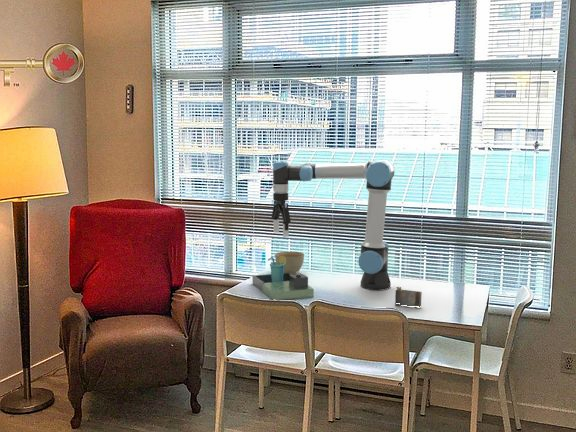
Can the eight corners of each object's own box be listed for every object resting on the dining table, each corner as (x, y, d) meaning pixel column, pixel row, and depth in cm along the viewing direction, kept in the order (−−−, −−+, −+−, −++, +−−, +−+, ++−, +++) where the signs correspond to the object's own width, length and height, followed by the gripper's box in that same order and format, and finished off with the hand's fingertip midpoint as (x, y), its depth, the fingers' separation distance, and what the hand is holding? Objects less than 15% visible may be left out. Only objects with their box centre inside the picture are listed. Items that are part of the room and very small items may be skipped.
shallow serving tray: (313, 296, 308) (313, 274, 306) (274, 300, 301) (274, 277, 299) (289, 280, 338) (289, 260, 337) (252, 283, 331) (252, 263, 330)
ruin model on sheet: (394, 307, 294) (395, 286, 292) (396, 305, 296) (396, 284, 295) (419, 310, 289) (420, 288, 288) (421, 308, 292) (421, 287, 291)
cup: (274, 288, 319) (274, 258, 317) (262, 286, 323) (262, 257, 321) (290, 282, 331) (290, 254, 329) (277, 280, 335) (277, 252, 333)
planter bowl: (307, 271, 360) (307, 252, 358) (299, 278, 344) (299, 258, 343) (280, 269, 365) (280, 250, 363) (270, 275, 349) (270, 255, 348)
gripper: (265, 190, 331) (265, 231, 335) (282, 195, 308) (282, 239, 312) (279, 189, 334) (279, 230, 337) (297, 194, 311) (297, 238, 314)
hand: (281, 234), depth 324 cm, fingers open, 13 cm apart
